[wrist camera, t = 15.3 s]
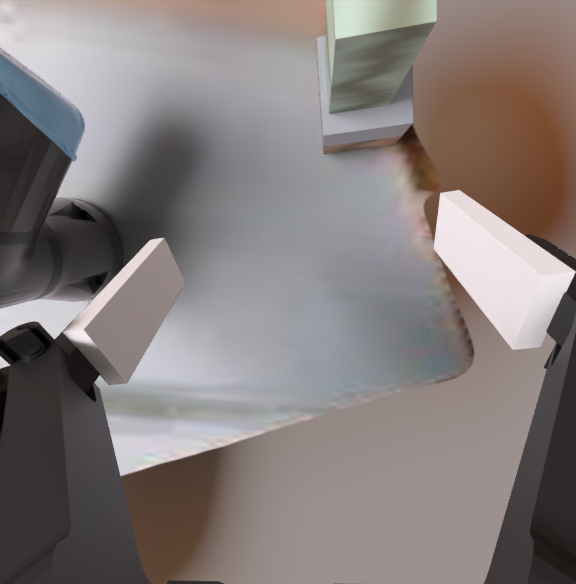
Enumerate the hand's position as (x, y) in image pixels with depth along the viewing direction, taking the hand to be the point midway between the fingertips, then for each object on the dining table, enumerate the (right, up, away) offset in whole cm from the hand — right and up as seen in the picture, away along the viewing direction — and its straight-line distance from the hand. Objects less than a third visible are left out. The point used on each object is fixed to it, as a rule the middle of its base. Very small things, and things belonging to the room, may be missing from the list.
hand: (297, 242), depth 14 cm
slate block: (+8, +20, +19) cm, 28 cm away
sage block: (+6, +19, +15) cm, 25 cm away
